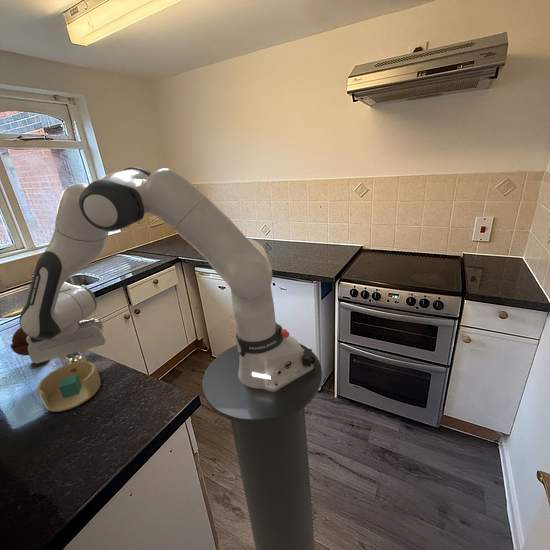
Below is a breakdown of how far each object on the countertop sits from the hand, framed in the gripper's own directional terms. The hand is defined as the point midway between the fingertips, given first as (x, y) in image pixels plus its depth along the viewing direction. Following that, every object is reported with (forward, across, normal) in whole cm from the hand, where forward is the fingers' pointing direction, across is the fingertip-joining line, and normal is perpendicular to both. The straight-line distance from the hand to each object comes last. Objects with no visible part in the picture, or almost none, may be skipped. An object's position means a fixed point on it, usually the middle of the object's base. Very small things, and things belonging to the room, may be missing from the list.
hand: (77, 363), depth 97 cm
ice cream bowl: (+3, +14, -14) cm, 20 cm away
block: (+2, 0, +12) cm, 12 cm away
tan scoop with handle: (+3, 0, +8) cm, 9 cm away
